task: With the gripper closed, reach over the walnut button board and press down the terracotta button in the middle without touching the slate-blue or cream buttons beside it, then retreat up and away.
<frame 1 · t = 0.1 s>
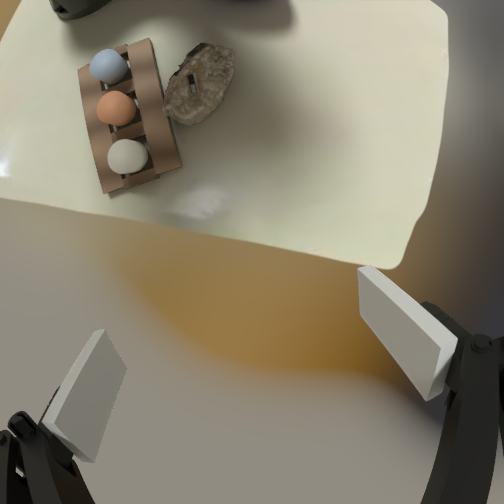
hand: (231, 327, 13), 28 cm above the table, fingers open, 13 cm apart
button slate: (109, 67, 27), point 4 cm above the table, slide at 0.0 cm
button terracotta: (116, 109, 30), point 4 cm above the table, slide at 0.0 cm
stone: (200, 87, 33), on the table
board: (125, 113, 33), on the table
button cream: (128, 156, 32), point 4 cm above the table, slide at 0.0 cm
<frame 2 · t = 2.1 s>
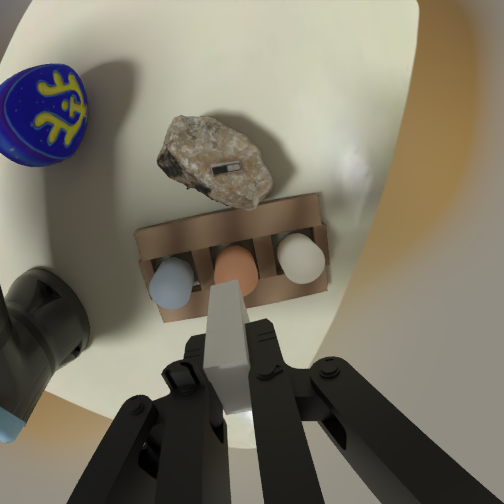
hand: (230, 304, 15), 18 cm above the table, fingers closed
button slate: (172, 282, 29), point 4 cm above the table, slide at 0.0 cm
button terracotta: (235, 270, 30), point 4 cm above the table, slide at 0.0 cm
stone: (213, 164, 30), on the table
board: (234, 259, 33), on the table
ornament: (70, 121, 26), on the table
button cream: (299, 257, 30), point 4 cm above the table, slide at 0.0 cm
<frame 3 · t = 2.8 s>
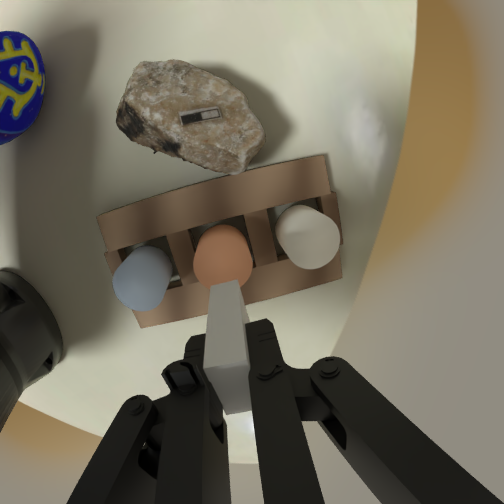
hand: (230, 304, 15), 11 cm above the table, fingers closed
button slate: (143, 277, 22), point 4 cm above the table, slide at 0.0 cm
button terracotta: (222, 256, 22), point 4 cm above the table, slide at 0.0 cm
stone: (190, 125, 22), on the table
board: (222, 243, 26), on the table
ornament: (29, 98, 18), on the table
button cream: (306, 235, 23), point 4 cm above the table, slide at 0.0 cm
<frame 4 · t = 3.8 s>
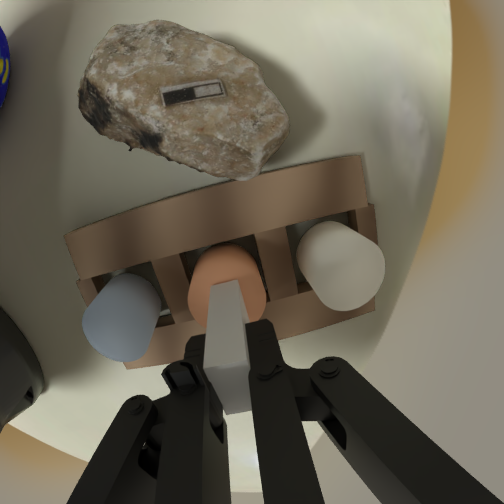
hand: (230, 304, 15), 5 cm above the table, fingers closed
button slate: (123, 316, 16), point 4 cm above the table, slide at 0.0 cm
button terracotta: (226, 286, 17), point 3 cm above the table, slide at 0.9 cm, touching gripper
stone: (182, 114, 16), on the table
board: (226, 270, 20), on the table
button cream: (338, 263, 16), point 4 cm above the table, slide at 0.0 cm
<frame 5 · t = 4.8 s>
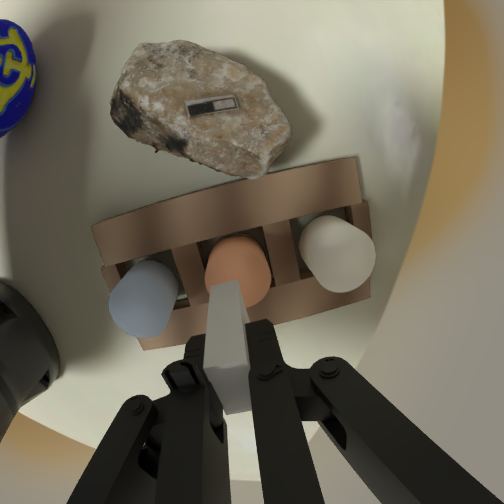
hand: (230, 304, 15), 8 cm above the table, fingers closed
button slate: (145, 297, 19), point 4 cm above the table, slide at 0.0 cm
button terracotta: (237, 268, 20), point 2 cm above the table, slide at 1.4 cm
stone: (199, 120, 19), on the table
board: (236, 258, 22), on the table
ornament: (21, 93, 16), on the table
button cream: (335, 251, 19), point 4 cm above the table, slide at 0.0 cm
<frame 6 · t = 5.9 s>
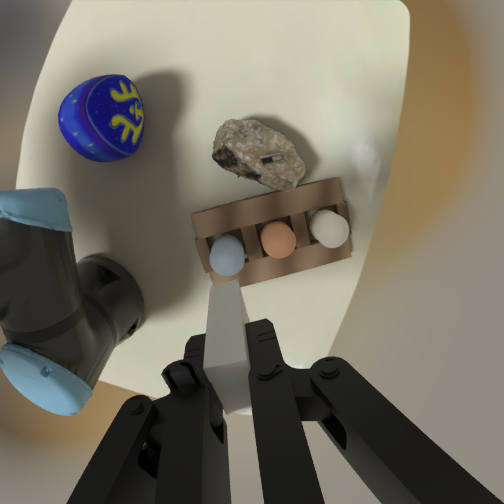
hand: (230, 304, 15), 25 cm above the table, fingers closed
button slate: (227, 254, 37), point 4 cm above the table, slide at 0.0 cm
button terracotta: (277, 238, 38), point 2 cm above the table, slide at 1.4 cm
stone: (254, 157, 37), on the table
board: (274, 234, 40), on the table
ornament: (124, 124, 34), on the table
button cream: (328, 228, 36), point 4 cm above the table, slide at 0.0 cm
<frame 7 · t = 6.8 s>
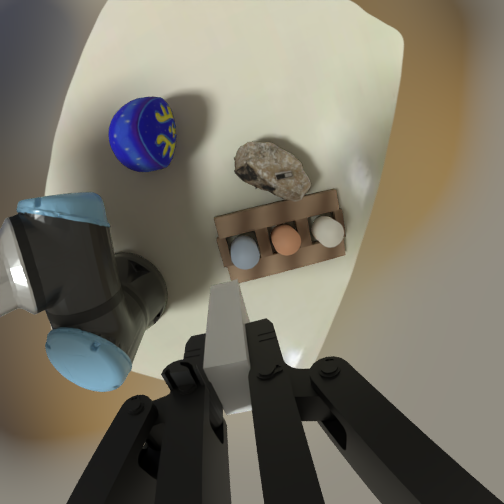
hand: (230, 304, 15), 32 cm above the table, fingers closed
button slate: (244, 252, 45), point 4 cm above the table, slide at 0.0 cm
button terracotta: (285, 238, 46), point 2 cm above the table, slide at 1.4 cm
stone: (267, 171, 45), on the table
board: (282, 235, 48), on the table
ornament: (155, 138, 41), on the table
button cream: (327, 231, 45), point 4 cm above the table, slide at 0.0 cm
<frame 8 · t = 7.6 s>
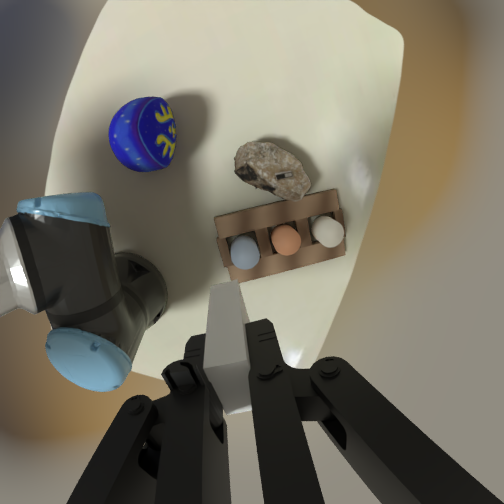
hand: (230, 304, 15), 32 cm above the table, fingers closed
button slate: (244, 252, 45), point 4 cm above the table, slide at 0.0 cm
button terracotta: (285, 238, 46), point 2 cm above the table, slide at 1.4 cm
stone: (267, 171, 45), on the table
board: (282, 235, 48), on the table
ornament: (155, 138, 41), on the table
button cream: (327, 231, 45), point 4 cm above the table, slide at 0.0 cm
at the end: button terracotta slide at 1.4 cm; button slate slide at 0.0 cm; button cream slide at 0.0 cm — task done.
